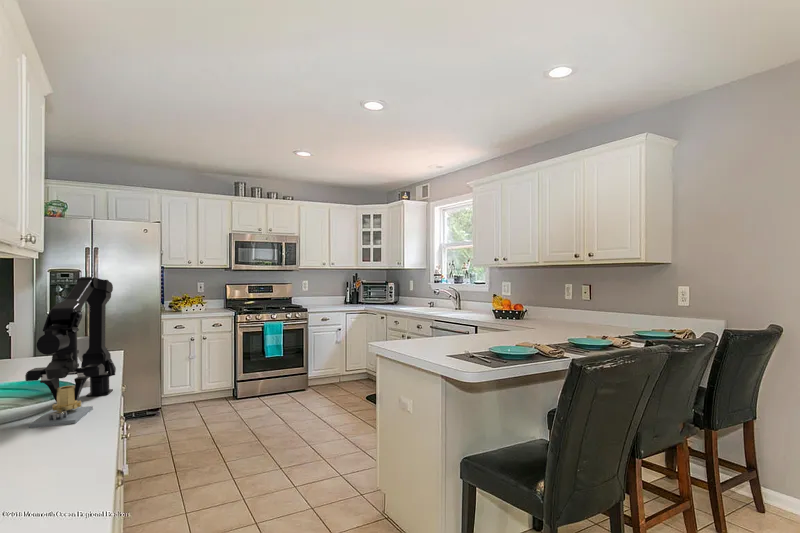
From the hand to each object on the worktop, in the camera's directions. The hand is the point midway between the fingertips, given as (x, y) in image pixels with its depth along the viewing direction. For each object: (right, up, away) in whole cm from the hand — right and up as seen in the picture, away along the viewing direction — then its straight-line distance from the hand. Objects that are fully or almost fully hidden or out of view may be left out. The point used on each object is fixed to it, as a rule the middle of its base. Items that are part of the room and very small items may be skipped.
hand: (66, 400), depth 141 cm
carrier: (+1, -4, -3) cm, 5 cm away
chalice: (-18, -5, +35) cm, 40 cm away
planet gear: (0, -2, 0) cm, 2 cm away
